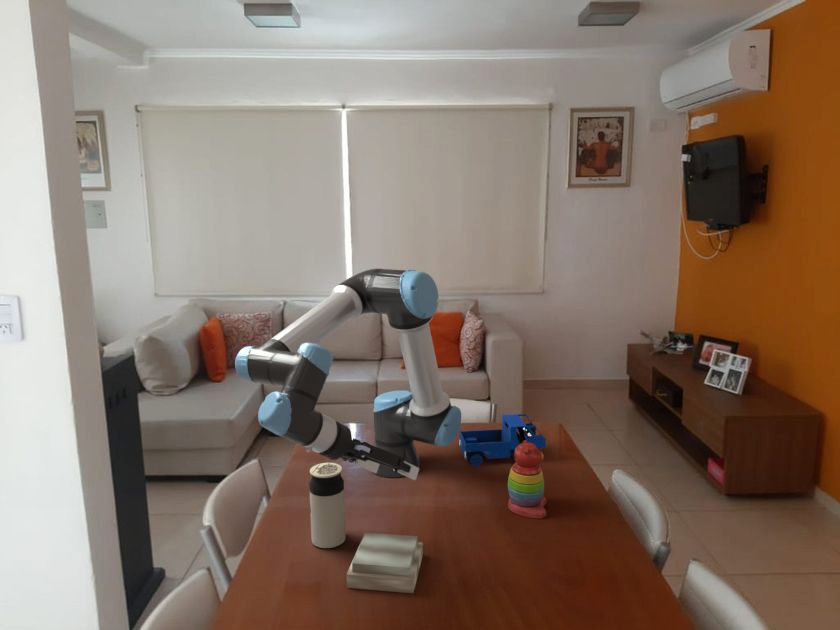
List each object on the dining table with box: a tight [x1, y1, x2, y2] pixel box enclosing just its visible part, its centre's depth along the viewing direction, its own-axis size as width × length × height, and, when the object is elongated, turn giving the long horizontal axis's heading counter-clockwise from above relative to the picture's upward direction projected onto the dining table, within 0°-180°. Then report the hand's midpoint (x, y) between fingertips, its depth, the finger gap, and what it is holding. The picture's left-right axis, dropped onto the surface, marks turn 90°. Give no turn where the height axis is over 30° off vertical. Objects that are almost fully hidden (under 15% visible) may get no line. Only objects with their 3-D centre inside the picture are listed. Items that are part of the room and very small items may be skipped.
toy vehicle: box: [459, 413, 547, 467], centre depth 189 cm, size 25×12×12 cm, turn 96°
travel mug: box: [308, 462, 346, 549], centre depth 141 cm, size 8×8×18 cm
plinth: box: [345, 532, 424, 594], centre depth 131 cm, size 14×14×5 cm
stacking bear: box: [507, 440, 547, 520], centre depth 156 cm, size 11×10×18 cm
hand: (396, 470), depth 138 cm, fingers open, 13 cm apart
